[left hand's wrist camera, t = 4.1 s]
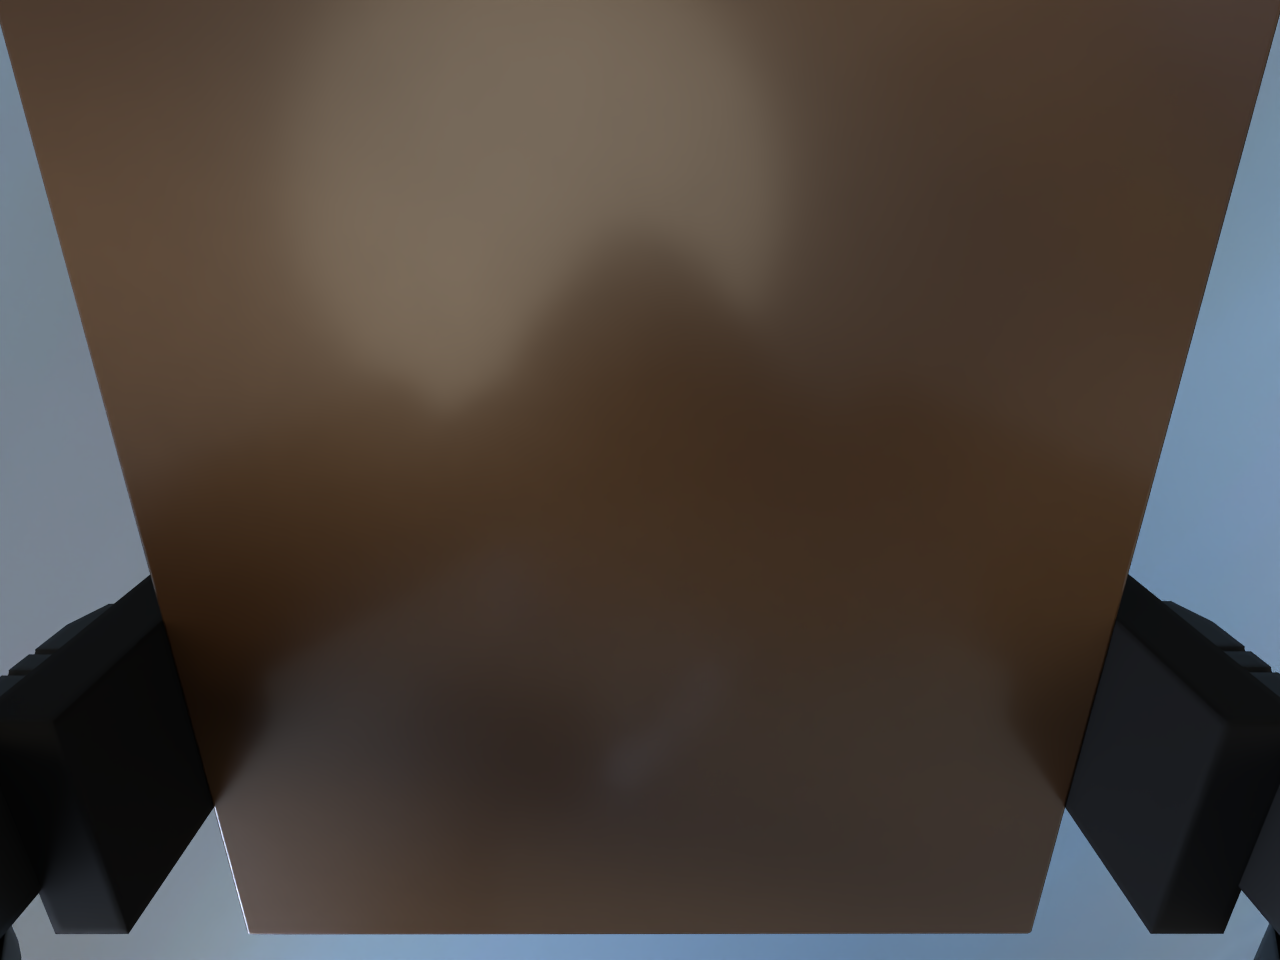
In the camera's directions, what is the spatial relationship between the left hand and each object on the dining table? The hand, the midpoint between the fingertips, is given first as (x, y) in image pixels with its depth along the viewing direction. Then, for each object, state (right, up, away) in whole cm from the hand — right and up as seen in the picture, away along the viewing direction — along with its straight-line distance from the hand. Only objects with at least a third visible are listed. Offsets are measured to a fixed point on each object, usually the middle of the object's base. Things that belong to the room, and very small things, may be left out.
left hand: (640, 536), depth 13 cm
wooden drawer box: (0, +9, +3) cm, 9 cm away
